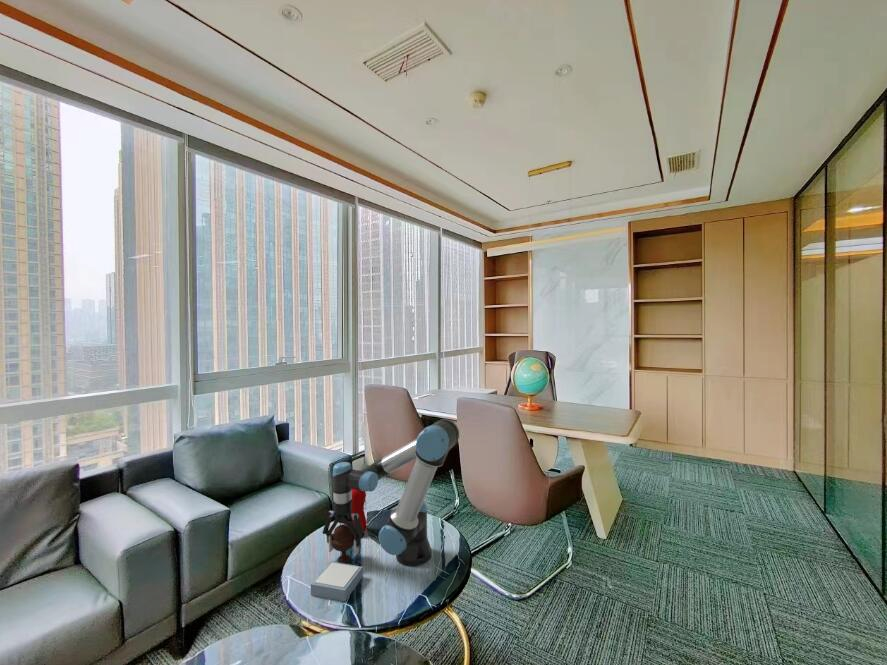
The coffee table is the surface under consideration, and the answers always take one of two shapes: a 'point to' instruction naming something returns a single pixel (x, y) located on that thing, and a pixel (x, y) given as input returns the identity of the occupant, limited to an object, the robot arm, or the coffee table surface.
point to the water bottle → (359, 506)
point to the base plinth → (337, 581)
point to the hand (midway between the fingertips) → (343, 552)
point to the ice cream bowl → (342, 542)
